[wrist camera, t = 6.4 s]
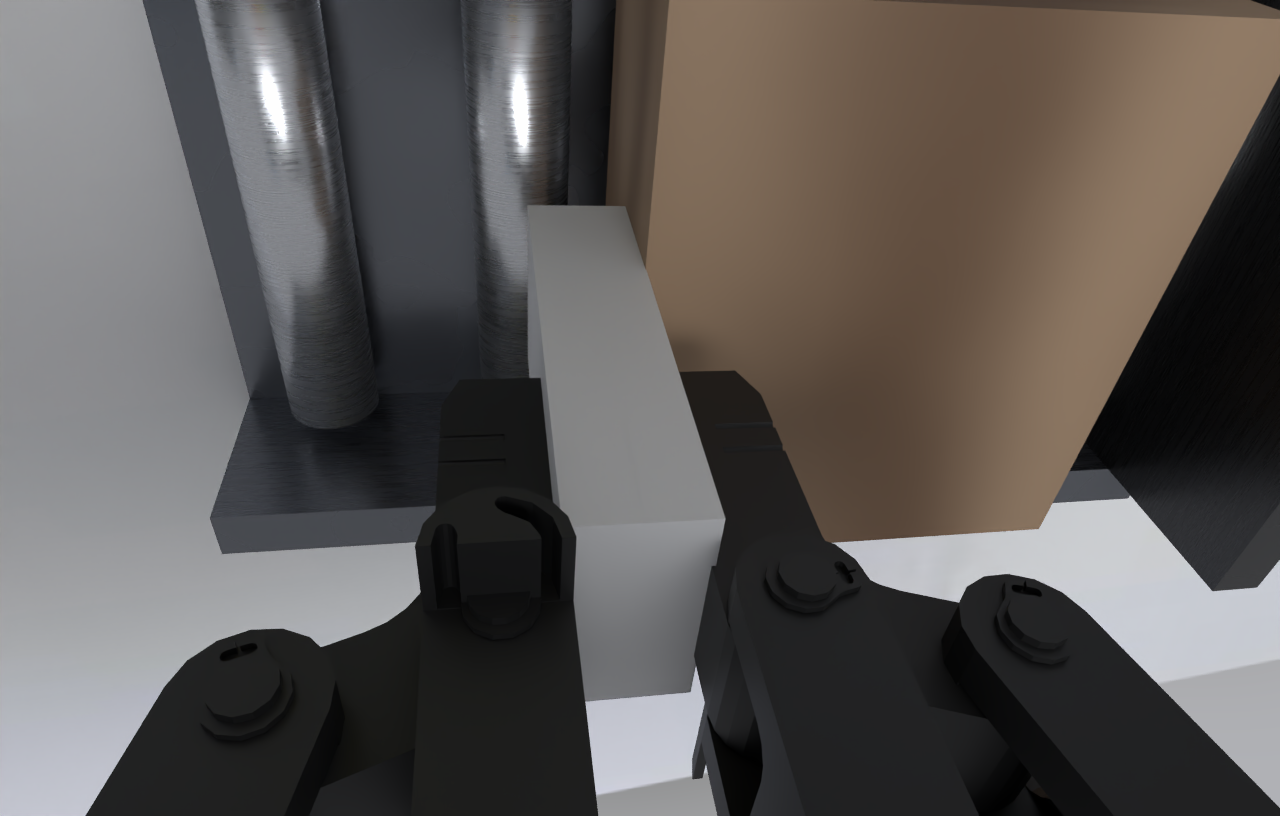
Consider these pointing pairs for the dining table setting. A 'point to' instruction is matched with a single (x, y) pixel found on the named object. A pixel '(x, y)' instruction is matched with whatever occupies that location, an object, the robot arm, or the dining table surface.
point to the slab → (925, 222)
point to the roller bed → (392, 262)
